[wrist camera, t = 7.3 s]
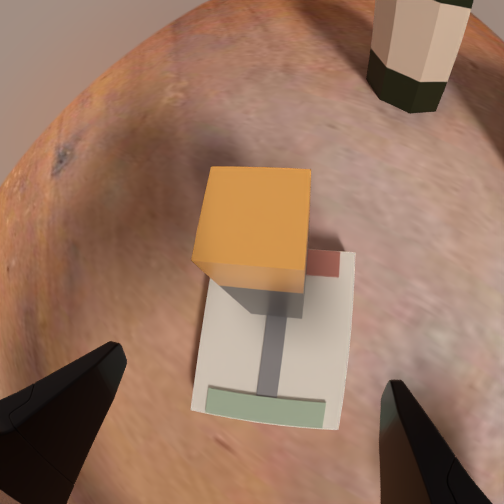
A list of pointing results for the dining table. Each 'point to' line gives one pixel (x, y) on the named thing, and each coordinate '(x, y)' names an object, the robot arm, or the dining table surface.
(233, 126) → the dining table surface
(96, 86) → the dining table surface
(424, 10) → the wine bottle
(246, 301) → the lever
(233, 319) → the plate
